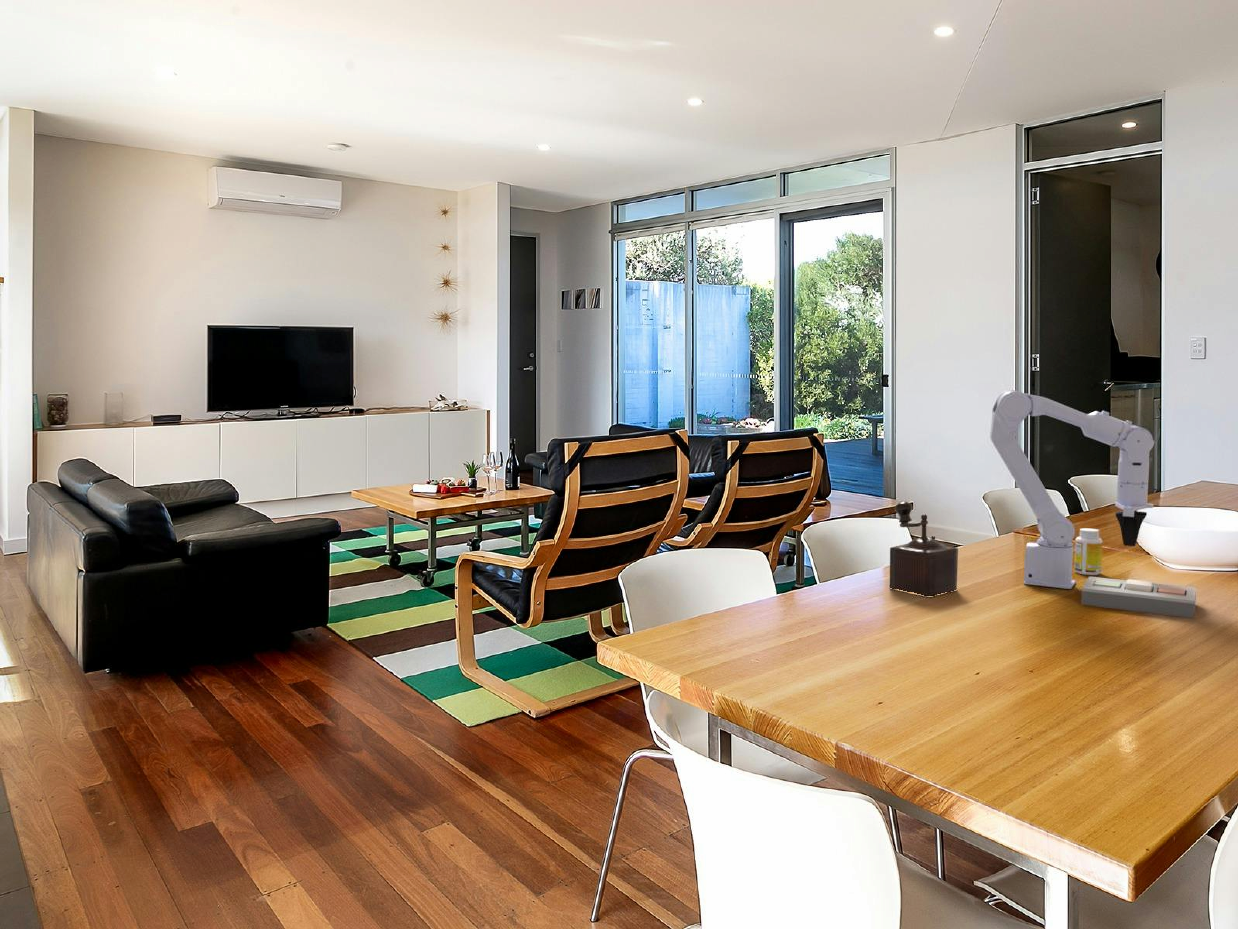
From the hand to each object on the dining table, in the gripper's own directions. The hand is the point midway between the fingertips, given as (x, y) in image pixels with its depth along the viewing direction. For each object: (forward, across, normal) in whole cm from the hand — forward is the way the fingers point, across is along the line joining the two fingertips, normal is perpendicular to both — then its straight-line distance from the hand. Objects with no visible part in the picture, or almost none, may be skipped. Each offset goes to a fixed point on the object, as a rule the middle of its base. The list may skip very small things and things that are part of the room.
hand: (1129, 545), depth 195 cm
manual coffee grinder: (+10, -23, +39) cm, 46 cm away
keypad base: (+9, -14, -3) cm, 17 cm away
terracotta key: (+8, -14, -9) cm, 18 cm away
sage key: (+8, -14, +3) cm, 16 cm away
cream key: (+7, -14, -3) cm, 16 cm away
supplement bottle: (+10, +12, +9) cm, 18 cm away
